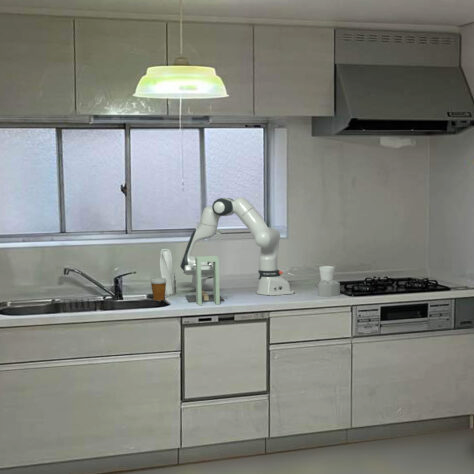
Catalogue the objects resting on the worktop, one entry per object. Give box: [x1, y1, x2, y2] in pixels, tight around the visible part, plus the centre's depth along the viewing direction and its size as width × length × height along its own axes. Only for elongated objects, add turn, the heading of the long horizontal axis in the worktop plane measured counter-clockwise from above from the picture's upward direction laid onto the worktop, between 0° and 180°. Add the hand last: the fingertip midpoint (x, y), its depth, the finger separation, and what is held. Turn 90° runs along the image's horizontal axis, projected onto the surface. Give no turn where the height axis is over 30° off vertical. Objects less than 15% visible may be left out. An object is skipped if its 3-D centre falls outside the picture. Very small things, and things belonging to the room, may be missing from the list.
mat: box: [185, 293, 225, 303], centre depth 420 cm, size 20×21×1 cm
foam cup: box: [318, 265, 335, 282], centre depth 453 cm, size 10×9×13 cm
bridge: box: [195, 255, 221, 306], centre depth 402 cm, size 12×10×26 cm
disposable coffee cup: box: [149, 277, 167, 301], centre depth 419 cm, size 10×10×12 cm
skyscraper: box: [159, 248, 178, 297], centre depth 435 cm, size 8×8×28 cm
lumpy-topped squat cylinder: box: [317, 279, 341, 297], centre depth 426 cm, size 10×13×9 cm
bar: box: [201, 290, 209, 300], centre depth 420 cm, size 19×2×2 cm, turn 11°
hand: (202, 264), depth 424 cm, fingers open, 8 cm apart
